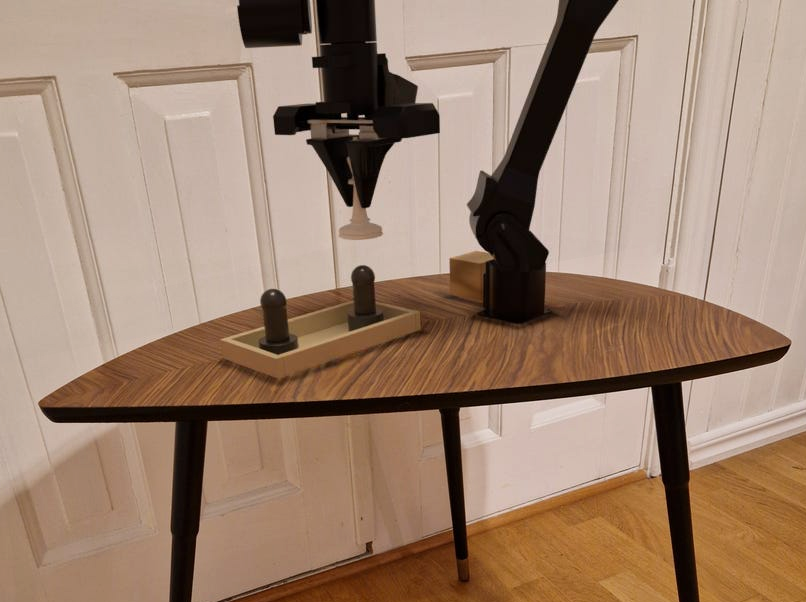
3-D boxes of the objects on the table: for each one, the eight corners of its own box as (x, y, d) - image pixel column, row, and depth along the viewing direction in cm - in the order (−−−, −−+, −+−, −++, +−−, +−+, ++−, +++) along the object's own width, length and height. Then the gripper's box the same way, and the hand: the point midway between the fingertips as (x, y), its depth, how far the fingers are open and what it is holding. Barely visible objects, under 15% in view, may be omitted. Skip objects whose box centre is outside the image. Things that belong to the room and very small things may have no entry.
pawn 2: (391, 328, 90) (388, 264, 87) (365, 337, 88) (360, 271, 84) (367, 322, 93) (363, 259, 89) (341, 330, 90) (335, 266, 87)
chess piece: (382, 239, 87) (378, 138, 82) (337, 240, 87) (329, 140, 82) (383, 230, 91) (379, 134, 86) (340, 231, 91) (333, 135, 86)
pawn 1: (307, 356, 83) (300, 287, 79) (276, 367, 80) (267, 296, 77) (283, 348, 85) (276, 281, 82) (252, 358, 83) (243, 290, 80)
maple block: (506, 295, 102) (506, 255, 99) (480, 304, 99) (480, 263, 96) (475, 289, 105) (475, 250, 103) (449, 298, 102) (449, 258, 100)
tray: (363, 318, 96) (361, 297, 95) (421, 333, 90) (420, 311, 88) (223, 362, 84) (219, 339, 83) (279, 383, 78) (276, 358, 77)
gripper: (472, 37, 80) (472, 201, 87) (336, 45, 91) (346, 191, 98) (400, 39, 73) (407, 218, 80) (262, 48, 84) (279, 205, 91)
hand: (358, 207), depth 87 cm, fingers closed on chess piece
